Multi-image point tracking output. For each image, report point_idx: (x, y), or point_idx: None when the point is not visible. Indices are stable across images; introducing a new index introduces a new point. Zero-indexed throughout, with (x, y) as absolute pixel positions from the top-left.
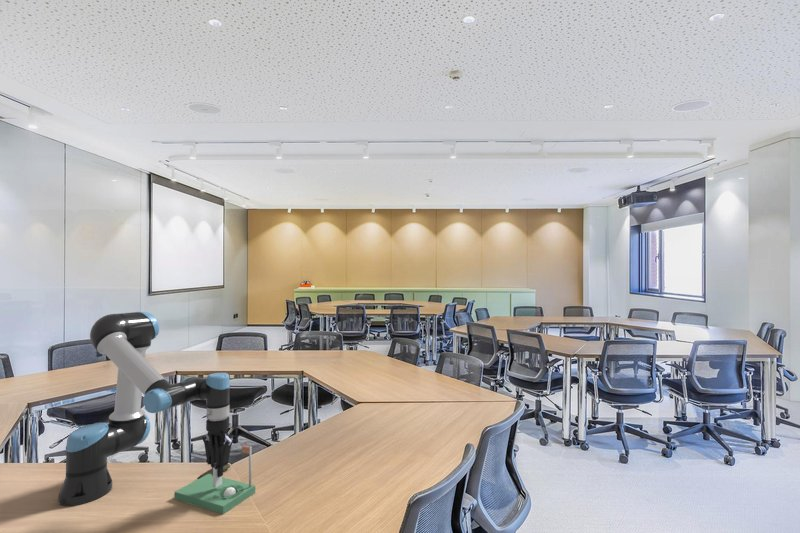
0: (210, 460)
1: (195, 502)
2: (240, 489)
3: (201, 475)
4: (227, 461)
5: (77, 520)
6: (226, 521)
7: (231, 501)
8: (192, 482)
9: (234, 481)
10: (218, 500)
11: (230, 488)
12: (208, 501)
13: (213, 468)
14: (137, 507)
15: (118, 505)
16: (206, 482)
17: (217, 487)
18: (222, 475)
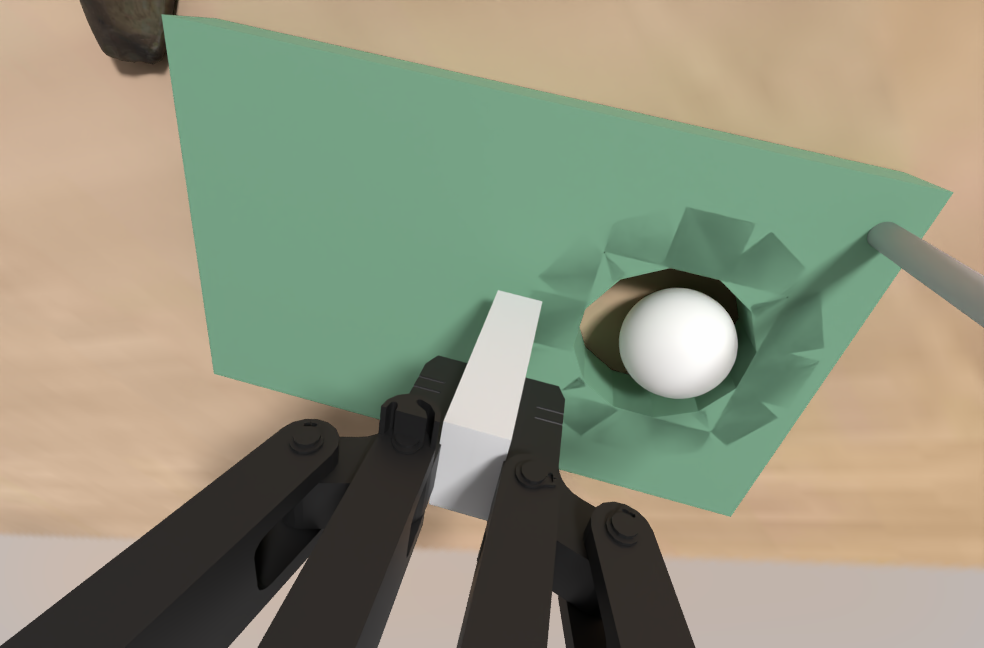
0: (302, 522)
1: None
2: (773, 291)
3: (96, 9)
4: (662, 595)
5: (49, 509)
6: (780, 527)
7: (767, 461)
8: (196, 230)
9: (608, 139)
10: (643, 457)
11: (694, 377)
12: (568, 468)
13: (441, 500)
14: (150, 427)
15: (47, 416)
16: (315, 210)
17: (496, 284)
18: (560, 393)
